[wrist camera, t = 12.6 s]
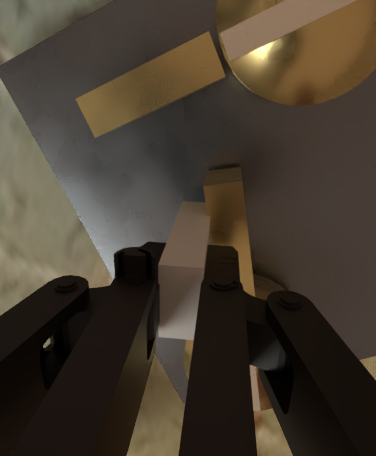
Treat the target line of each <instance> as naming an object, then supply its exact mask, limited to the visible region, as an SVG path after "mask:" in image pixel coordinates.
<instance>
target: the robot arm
mask: <svg viewBox="0 0 376 456" xmlns="http://www.w3.org/2000/svg"><path fill="white" fill-rule="evenodd" d="M114 269H115V278H114V280H113V282H112V283H111V285H110V286H105V287H98V288H89V285H88V281H87V280H86V279H85V278H82V277H80V276H73V275H68V276H62V277H59V278H56V279H53V280H52V281H50V282H48V283H46V284H45V285H44V286H42V287H41V288H39V289H38V290H37V291H35V292H34V293H32V294H31V295H29V296H28V297H27V298H25V299H24V300H22V301H21V302H19V303H18V304H17V305H15V306H14V307H12V308H11V309H9V310H8V311H7V312H5V313H4V314H2V315H1V316H0V456H9V455H10V454H11V453H12V454H11V456H126V455H127V452H128V448H129V445H130V441H131V437H132V434H133V430H134V426H135V423H136V419H137V415H138V412H139V408H140V404H141V401H142V397H143V393H144V390H145V386H146V382H147V379H148V375H149V371H150V368H151V364H152V360H153V357H154V353H155V349H156V333H157V329H158V337H164V338H175V339H185V340H194V341H193V349H192V357H191V364H190V372H189V380H188V387H187V395H186V403H185V411H184V418H183V426H182V434H181V441H180V449H179V456H257V448H256V436H255V423H254V411H253V399H252V387H251V375H250V365H252V366H255V367H258V375H259V377H260V380H261V382H262V384H263V387H264V389H265V391H266V394H267V396H268V398H269V401H270V403H271V405H272V408H273V410H274V412H275V415H276V417H277V419H278V421H279V424H280V426H281V428H282V431H283V433H284V435H285V438H286V440H287V442H288V445H289V447H290V449H291V452H292V454H293V456H376V380H375V379H374V378H373V377H372V375H371V374H370V373H369V372H368V370H367V369H366V368H365V367H364V366H363V364H362V363H361V362H360V361H359V359H358V358H357V357H356V356H355V355H354V353H353V352H352V351H351V350H350V348H349V347H348V346H347V345H346V343H345V342H344V341H343V340H342V339H341V337H340V336H339V335H338V334H337V332H336V331H335V330H334V329H333V327H332V326H331V325H330V324H329V323H328V321H327V320H326V319H325V318H324V316H323V315H322V314H321V313H320V312H319V310H318V309H317V308H316V307H315V305H314V304H313V303H312V302H311V301H310V300H309V299H308V298H307V297H306V296H303V295H301V294H299V293H297V292H294V291H293V292H292V291H289V290H287V291H283V290H280V291H275V292H272V293H271V294H269V295H268V297H267V299H266V300H263V299H260V298H257V297H254V296H252V295H250V294H248V293H247V292H245V291H244V289H243V285H242V283H241V282H240V271H239V256H238V251H237V250H236V249H235V248H234V247H233V246H221V245H210V216H208V215H207V209H206V202H189V201H182V204H181V207H180V209H179V212H178V214H177V217H176V220H175V222H174V225H173V227H172V230H171V233H170V235H169V238H168V241H167V243H162V242H147V243H145V244H144V245H142V246H141V247H128V248H123V249H121V250H118V251H117V252H116V253H114ZM49 338H50V342H51V343H50V344H49V345H48V346H47V347H46V348H43V345H44V343H45V342H46V341H47V340H48V339H49Z"/></svg>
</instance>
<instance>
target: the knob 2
mask: <svg viewBox="0 0 376 456" xmlns="http://www.w3.org/2000/svg"><path fill="white" fill-rule="evenodd" d="M203 189H204V195H205V202H206V209H207V215H208V216H210V235H211V242H212V245H221V246H233V247H234V248H235V249H236V250H237V251H238V256H239V271H240V282H241V283H242V285H243V289H244V291H245V292H247V293H248V294H250V295H252V296H254V297H257V298H260V299H263V300H266V299H267V297H268V295H269V294H271V293H272V292H275V291H280V290H283V291H285V290H284V289H283V288H282V287H281V286H280V285H278V284H277V283H275V282H274V281H272V280H270V279H268V278H265V277H262V276H259V275H254V274H253V271H252V262H251V253H250V244H249V235H248V226H247V217H246V208H245V199H244V190H243V181H242V174H241V167H234V168H226V169H219V170H212V171H207V173H206V177H205V181H204V185H203ZM193 341H194V340H186V344H185V350H184V358H183V362H184V369H185V372H186V375H187V377H188V379H189V372H190V364H191V357H192V349H193ZM250 375H251V387H252V399H253V411H262V410H267V409H271V408H272V405H271V403H270V401H269V398H268V396H267V394H266V391H265V389H264V387H263V384H262V382H261V380H260V377H259V375H258V367H255V366H252V365H250Z"/></svg>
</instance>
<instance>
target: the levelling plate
mask: <svg viewBox="0 0 376 456" xmlns="http://www.w3.org/2000/svg"><path fill="white" fill-rule="evenodd" d="M216 3H217V0H114V1H113V2H111V3H109V4H107V5H106V6H104V7H102V8H100V9H99V10H97V11H95V12H93V13H92V14H90V15H88V16H86V17H85V18H83V19H81V20H79V21H78V22H76V23H74V24H72V25H71V26H69V27H67V28H65V29H64V30H62V31H60V32H58V33H56V34H55V35H53V36H51V37H49V38H48V39H46V40H44V41H42V42H41V43H39V44H37V45H35V46H34V47H32V48H30V49H28V50H27V51H25V52H23V53H21V54H20V55H18V56H16V57H14V58H13V59H11V60H9V61H7V62H6V63H4V64H2V65H0V78H1V79H2V81H3V83H4V85H5V87H6V88H7V90H8V92H9V94H10V95H11V97H12V99H13V101H14V103H15V104H16V106H17V108H18V110H19V111H20V113H21V115H22V117H23V119H24V120H25V122H26V124H27V126H28V127H29V129H30V131H31V133H32V135H33V136H34V138H35V140H36V142H37V143H38V145H39V147H40V149H41V151H42V152H43V154H44V156H45V158H46V159H47V161H48V163H49V165H50V167H51V168H52V170H53V172H54V174H55V175H56V177H57V179H58V181H59V183H60V184H61V186H62V188H63V190H64V191H65V193H66V195H67V197H68V199H69V200H70V202H71V204H72V206H73V208H74V209H75V211H76V213H77V215H78V216H79V218H80V220H81V222H82V224H83V225H84V227H85V229H86V231H87V232H88V234H89V236H90V238H91V240H92V241H93V243H94V245H95V247H96V248H97V250H98V252H99V254H100V256H101V257H102V259H103V261H104V263H105V264H106V266H107V268H108V270H109V272H110V273H111V275H112V277H113V279H114V278H115V269H114V253H116V252H117V251H118V250H121V249H123V248H128V247H141V246H142V245H144V244H145V243H147V242H162V243H167V241H168V238H169V235H170V233H171V230H172V227H173V225H174V222H175V220H176V217H177V214H178V212H179V209H180V207H181V204H182V201H189V202H205V195H204V189H203V185H204V181H205V177H206V173H207V171H212V170H219V169H226V168H234V167H241V174H242V181H243V190H244V199H245V208H246V217H247V226H248V235H249V244H250V253H251V262H252V271H253V274H254V275H259V276H262V277H265V278H268V279H270V280H272V281H274V282H275V283H277V284H278V285H280V286H281V287H282V288H283V289H284V290H285V291H287V290H289V291H292V292H293V291H294V292H297V293H299V294H301V295H303V296H306V297H307V298H308V299H309V300H310V301H311V302H312V303H313V304H314V305H315V307H316V308H317V309H318V310H319V312H320V313H321V314H322V315H323V316H324V318H325V319H326V320H327V321H328V323H329V324H330V325H331V326H332V327H333V329H334V330H335V331H336V332H337V334H338V335H339V336H340V337H341V339H342V340H343V341H344V342H345V343H346V345H347V346H348V347H349V348H350V350H351V351H352V352H353V353H354V355H355V356H356V357H357V358H358V359H359V360H361V359H365V358H369V357H373V356H376V69H375V70H374V71H373V72H372V73H371V74H370V75H369V76H368V77H367V78H366V79H365V80H363V81H362V82H361V83H360V84H358V85H357V86H356V87H354V88H353V89H351V90H350V91H348V92H347V93H345V94H343V95H341V96H339V97H337V98H334V99H332V100H329V101H326V102H323V103H318V104H314V105H304V106H294V105H285V104H280V103H276V102H273V101H270V100H267V99H265V98H262V97H260V96H258V95H256V94H254V93H252V92H251V91H249V90H248V89H246V88H245V87H244V86H243V85H242V84H241V83H239V82H238V80H237V79H236V78H235V77H234V75H233V74H232V73H231V71H230V69H229V68H228V66H227V64H226V61H225V59H224V57H223V53H222V50H221V46H220V42H219V37H218V31H217V24H216ZM208 31H209V33H210V36H211V38H212V41H213V44H214V46H215V49H216V52H217V54H218V57H219V60H220V62H221V65H222V68H223V70H224V73H225V76H226V78H225V79H222V80H220V81H218V82H216V83H214V84H212V85H210V86H208V87H205V88H203V89H201V90H199V91H197V92H195V93H193V94H190V95H188V96H186V97H184V98H182V99H180V100H178V101H176V102H173V103H171V104H169V105H167V106H165V107H163V108H161V109H159V110H156V111H154V112H152V113H150V114H148V115H146V116H144V117H141V118H139V119H137V120H135V121H133V122H131V123H129V124H127V125H124V126H122V127H120V128H118V129H116V130H113V131H111V132H108V133H106V134H103V135H101V136H98V137H96V138H95V137H94V135H93V133H92V131H91V129H90V127H89V125H88V123H87V121H86V119H85V117H84V115H83V113H82V111H81V109H80V107H79V105H78V103H77V101H76V98H78V97H80V96H82V95H84V94H86V93H88V92H90V91H92V90H94V89H96V88H98V87H100V86H102V85H104V84H106V83H108V82H110V81H112V80H114V79H116V78H118V77H120V76H121V75H123V74H125V73H127V72H129V71H131V70H133V69H135V68H137V67H139V66H141V65H143V64H145V63H147V62H149V61H151V60H153V59H155V58H157V57H159V56H161V55H163V54H165V53H167V52H169V51H171V50H173V49H175V48H177V47H179V46H180V45H182V44H184V43H186V42H188V41H190V40H192V39H194V38H196V37H198V36H200V35H202V34H204V33H206V32H208ZM210 245H212V242H211V235H210ZM185 344H186V340H185V339H175V338H164V337H158V329H157V333H156V349H155V353H156V355H157V357H158V359H159V360H160V362H161V364H162V366H163V368H164V369H165V371H166V373H167V375H168V376H169V378H170V380H171V382H172V384H173V385H174V387H175V389H176V391H177V392H178V394H179V396H180V398H181V400H182V401H183V403H186V395H187V387H188V380H189V379H188V377H187V375H186V372H185V369H184V362H183V358H184V350H185Z"/></svg>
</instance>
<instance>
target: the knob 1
mask: <svg viewBox="0 0 376 456" xmlns="http://www.w3.org/2000/svg"><path fill="white" fill-rule="evenodd" d="M216 24H217V31H218V37H219V42H220V46H221V50H222V53H223V57H224V59H225V61H226V64H227V66H228V68H229V69H230V71H231V73H232V74H233V75H234V77H235V78H236V79H237V80H238V82H239V83H241V84H242V85H243V86H244V87H245V88H246V89H248V90H249V91H251V92H252V93H254V94H256V95H258V96H260V97H262V98H265V99H267V100H270V101H273V102H276V103H280V104H285V105H294V106H304V105H314V104H318V103H323V102H326V101H329V100H332V99H334V98H337V97H339V96H341V95H343V94H345V93H347V92H348V91H350V90H351V89H353V88H354V87H356V86H357V85H358V84H360V83H361V82H362V81H363V80H365V79H366V78H367V77H368V76H369V75H370V74H371V73H372V72H373V71H374V70H375V69H376V0H217V3H216ZM225 78H226V76H225V73H224V70H223V68H222V65H221V62H220V60H219V57H218V54H217V52H216V49H215V46H214V44H213V41H212V38H211V36H210V33H209V31H208V32H206V33H204V34H202V35H200V36H198V37H196V38H194V39H192V40H190V41H188V42H186V43H184V44H182V45H180V46H179V47H177V48H175V49H173V50H171V51H169V52H167V53H165V54H163V55H161V56H159V57H157V58H155V59H153V60H151V61H149V62H147V63H145V64H143V65H141V66H139V67H137V68H135V69H133V70H131V71H129V72H127V73H125V74H123V75H121V76H120V77H118V78H116V79H114V80H112V81H110V82H108V83H106V84H104V85H102V86H100V87H98V88H96V89H94V90H92V91H90V92H88V93H86V94H84V95H82V96H80V97H78V98H76V101H77V103H78V105H79V107H80V109H81V111H82V113H83V115H84V117H85V119H86V121H87V123H88V125H89V127H90V129H91V131H92V133H93V135H94V137H95V138H96V137H98V136H101V135H103V134H106V133H108V132H111V131H113V130H116V129H118V128H120V127H122V126H124V125H127V124H129V123H131V122H133V121H135V120H137V119H139V118H141V117H144V116H146V115H148V114H150V113H152V112H154V111H156V110H159V109H161V108H163V107H165V106H167V105H169V104H171V103H173V102H176V101H178V100H180V99H182V98H184V97H186V96H188V95H190V94H193V93H195V92H197V91H199V90H201V89H203V88H205V87H208V86H210V85H212V84H214V83H216V82H218V81H220V80H222V79H225Z"/></svg>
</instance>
